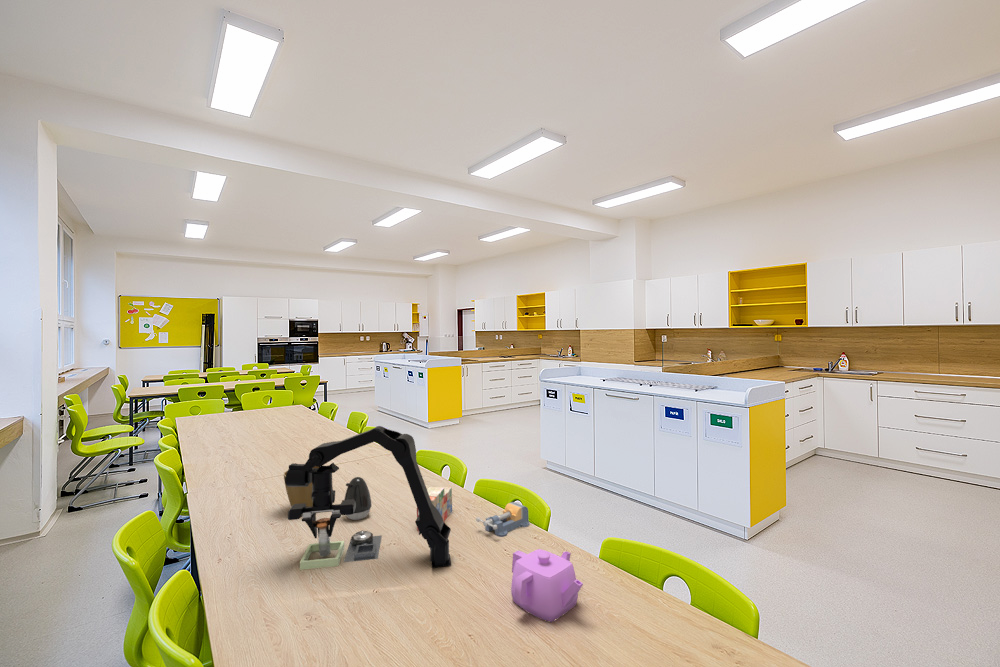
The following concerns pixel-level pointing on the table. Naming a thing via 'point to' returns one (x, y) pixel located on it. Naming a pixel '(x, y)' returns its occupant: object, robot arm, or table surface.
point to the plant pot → (300, 494)
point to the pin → (323, 536)
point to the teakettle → (544, 583)
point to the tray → (321, 562)
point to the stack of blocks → (440, 500)
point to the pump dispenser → (358, 498)
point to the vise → (507, 519)
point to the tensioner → (363, 547)
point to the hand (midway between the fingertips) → (323, 537)
